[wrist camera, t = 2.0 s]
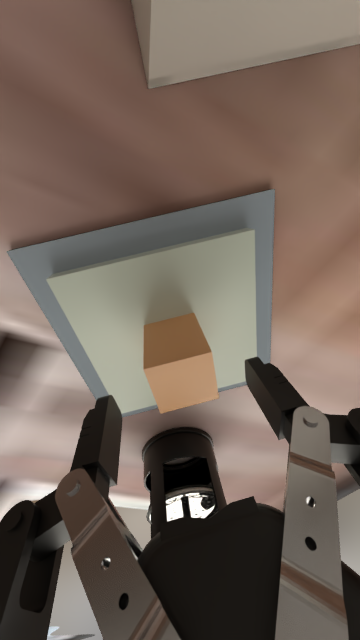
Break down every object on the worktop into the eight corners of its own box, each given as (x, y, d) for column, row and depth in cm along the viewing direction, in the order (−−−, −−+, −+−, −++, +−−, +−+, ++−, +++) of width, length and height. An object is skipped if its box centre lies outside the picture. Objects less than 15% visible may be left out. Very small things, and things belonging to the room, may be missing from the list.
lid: (247, 227, 15) (304, 241, 10) (251, 370, 22) (286, 423, 17) (52, 274, 15) (-1, 314, 9) (120, 404, 22) (113, 470, 16)
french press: (122, 453, 26) (56, 1212, 7) (178, 414, 24) (330, 1339, 5) (181, 479, 32) (245, 941, 12) (232, 448, 30) (409, 944, 10)
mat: (270, 189, 14) (274, 189, 14) (267, 375, 23) (269, 378, 23) (10, 250, 14) (6, 251, 13) (109, 416, 23) (108, 420, 22)
